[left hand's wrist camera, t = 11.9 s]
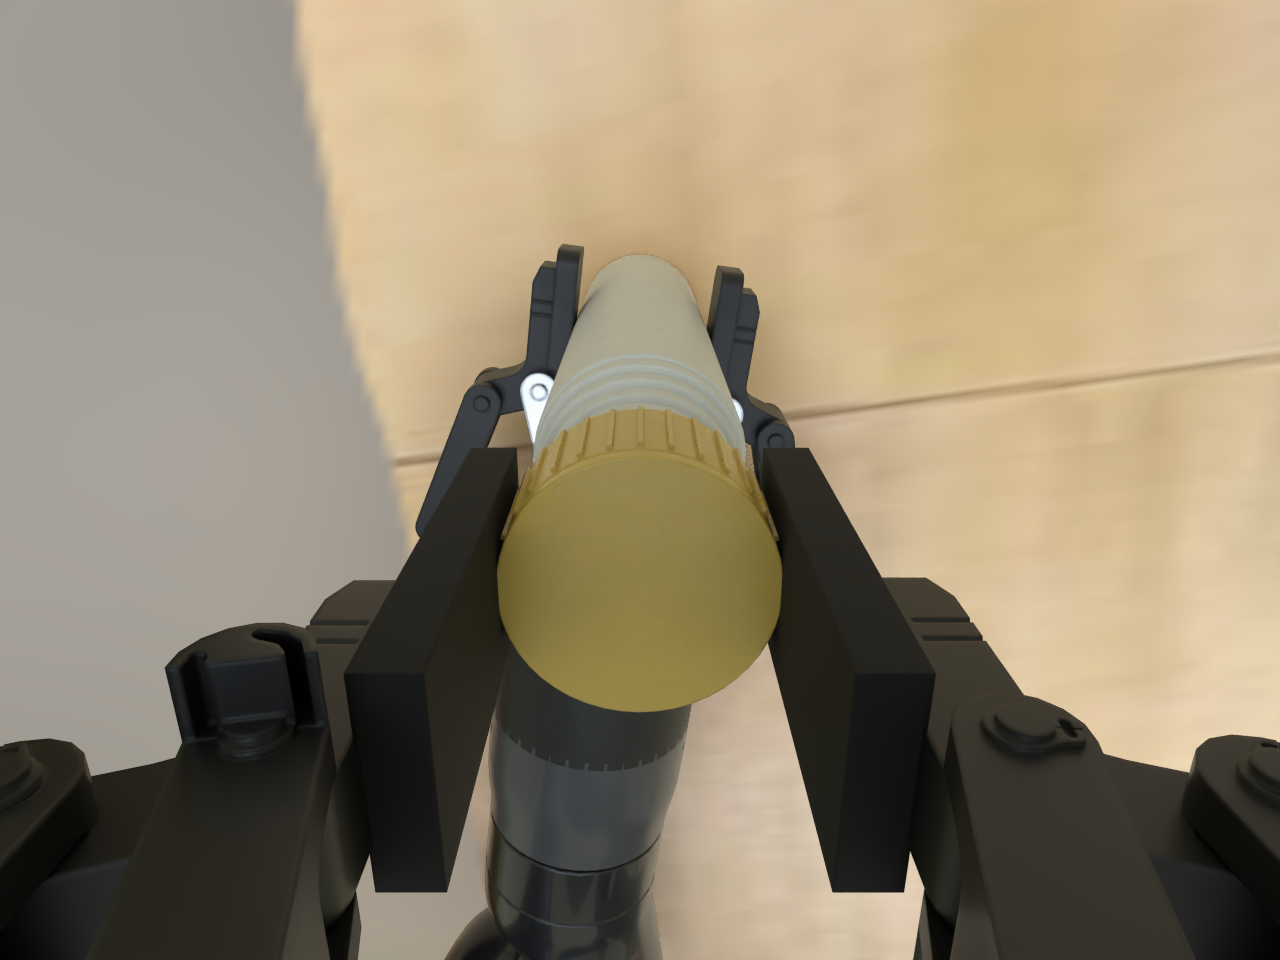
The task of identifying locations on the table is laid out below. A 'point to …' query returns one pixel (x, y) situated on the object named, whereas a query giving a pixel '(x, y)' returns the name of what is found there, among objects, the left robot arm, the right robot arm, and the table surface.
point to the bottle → (639, 354)
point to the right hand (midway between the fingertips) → (650, 261)
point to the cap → (639, 563)
